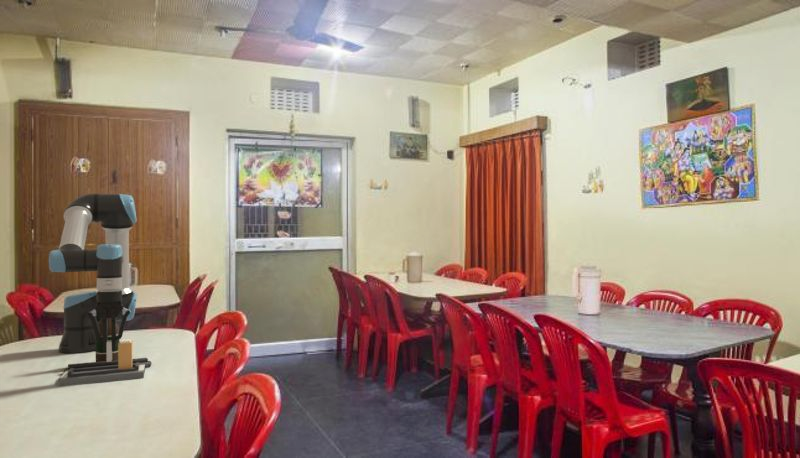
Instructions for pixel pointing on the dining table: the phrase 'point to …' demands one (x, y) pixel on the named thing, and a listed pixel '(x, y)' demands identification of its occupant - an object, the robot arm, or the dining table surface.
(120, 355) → the block
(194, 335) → the dining table surface
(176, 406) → the dining table surface
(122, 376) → the grey rectangular tray
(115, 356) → the beer bottle
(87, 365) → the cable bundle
